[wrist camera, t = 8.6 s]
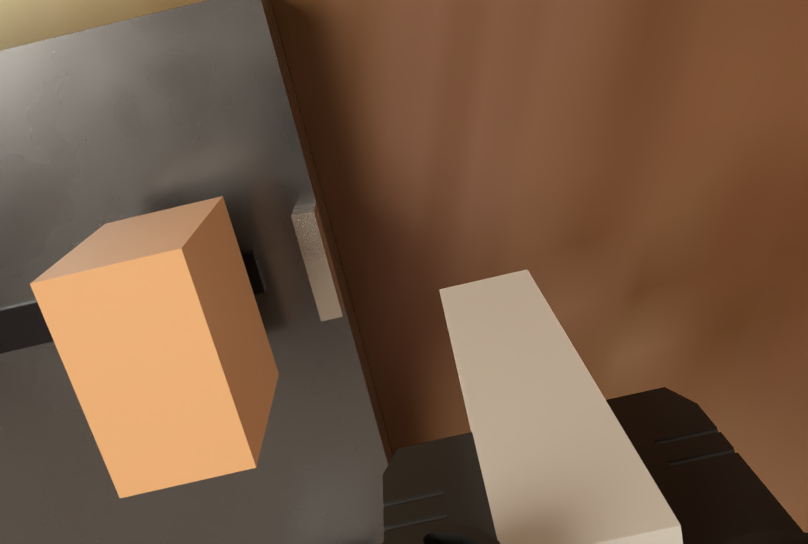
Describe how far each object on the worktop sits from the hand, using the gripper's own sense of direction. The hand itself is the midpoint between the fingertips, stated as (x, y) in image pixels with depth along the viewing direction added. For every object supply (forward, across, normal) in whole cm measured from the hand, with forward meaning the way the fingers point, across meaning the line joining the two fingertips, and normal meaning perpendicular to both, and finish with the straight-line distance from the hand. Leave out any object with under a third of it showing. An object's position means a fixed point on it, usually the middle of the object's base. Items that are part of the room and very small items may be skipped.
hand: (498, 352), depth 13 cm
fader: (+8, -7, 0) cm, 11 cm away
